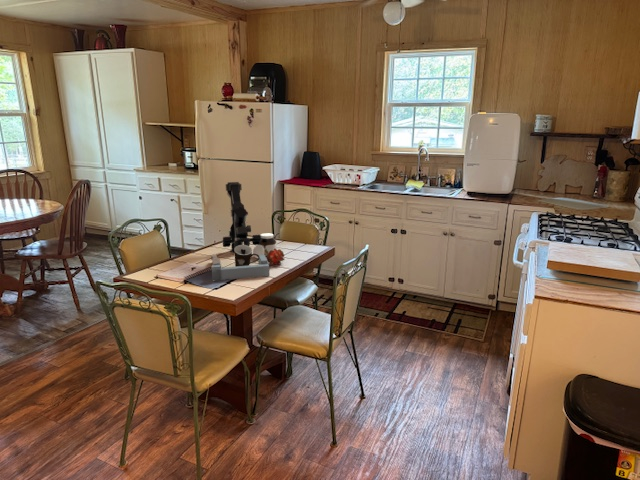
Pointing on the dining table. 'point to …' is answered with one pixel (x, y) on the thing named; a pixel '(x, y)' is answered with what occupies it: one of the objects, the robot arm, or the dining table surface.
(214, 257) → the sliding jaw
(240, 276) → the vise
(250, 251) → the coffee mug
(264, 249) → the spread jar
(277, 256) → the dragon fruit
